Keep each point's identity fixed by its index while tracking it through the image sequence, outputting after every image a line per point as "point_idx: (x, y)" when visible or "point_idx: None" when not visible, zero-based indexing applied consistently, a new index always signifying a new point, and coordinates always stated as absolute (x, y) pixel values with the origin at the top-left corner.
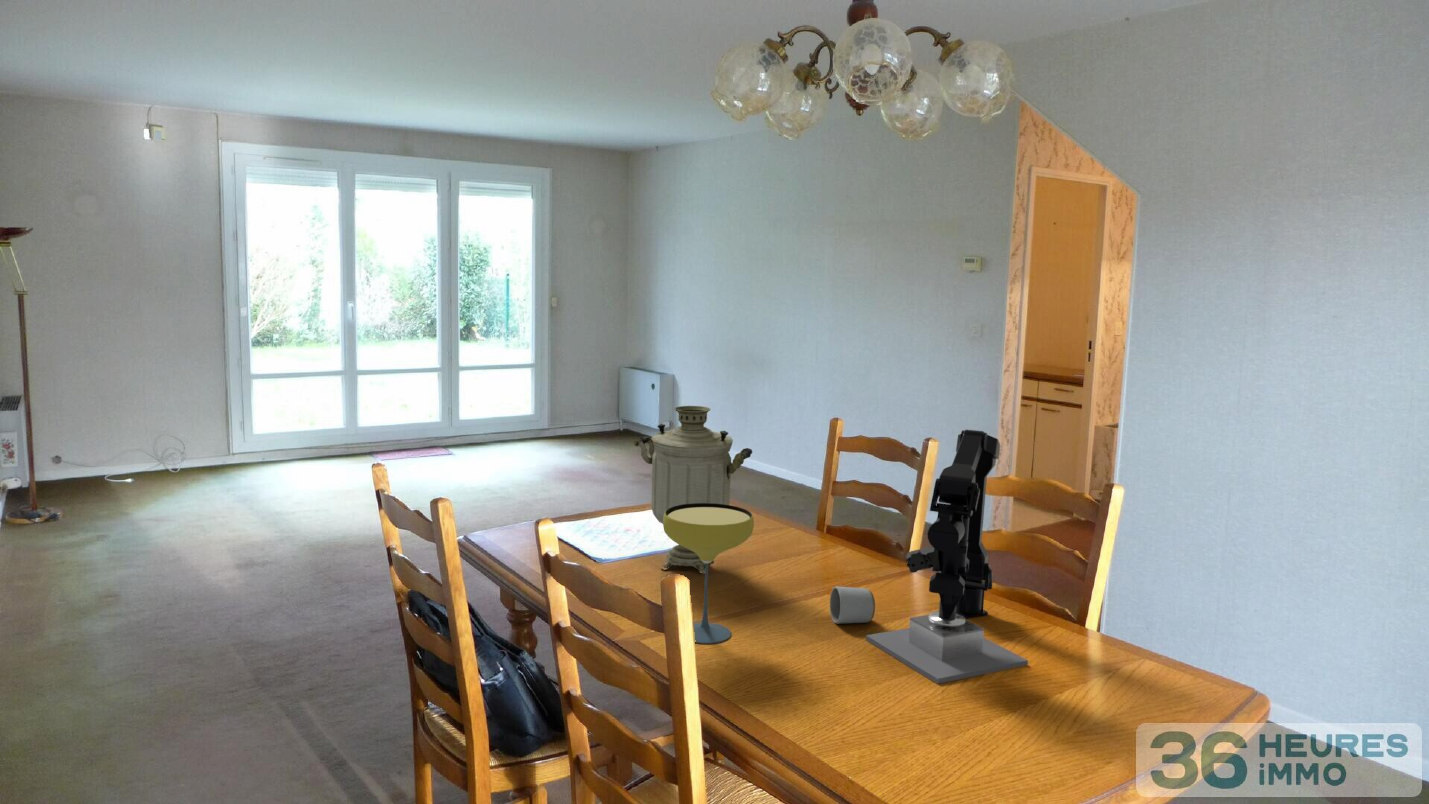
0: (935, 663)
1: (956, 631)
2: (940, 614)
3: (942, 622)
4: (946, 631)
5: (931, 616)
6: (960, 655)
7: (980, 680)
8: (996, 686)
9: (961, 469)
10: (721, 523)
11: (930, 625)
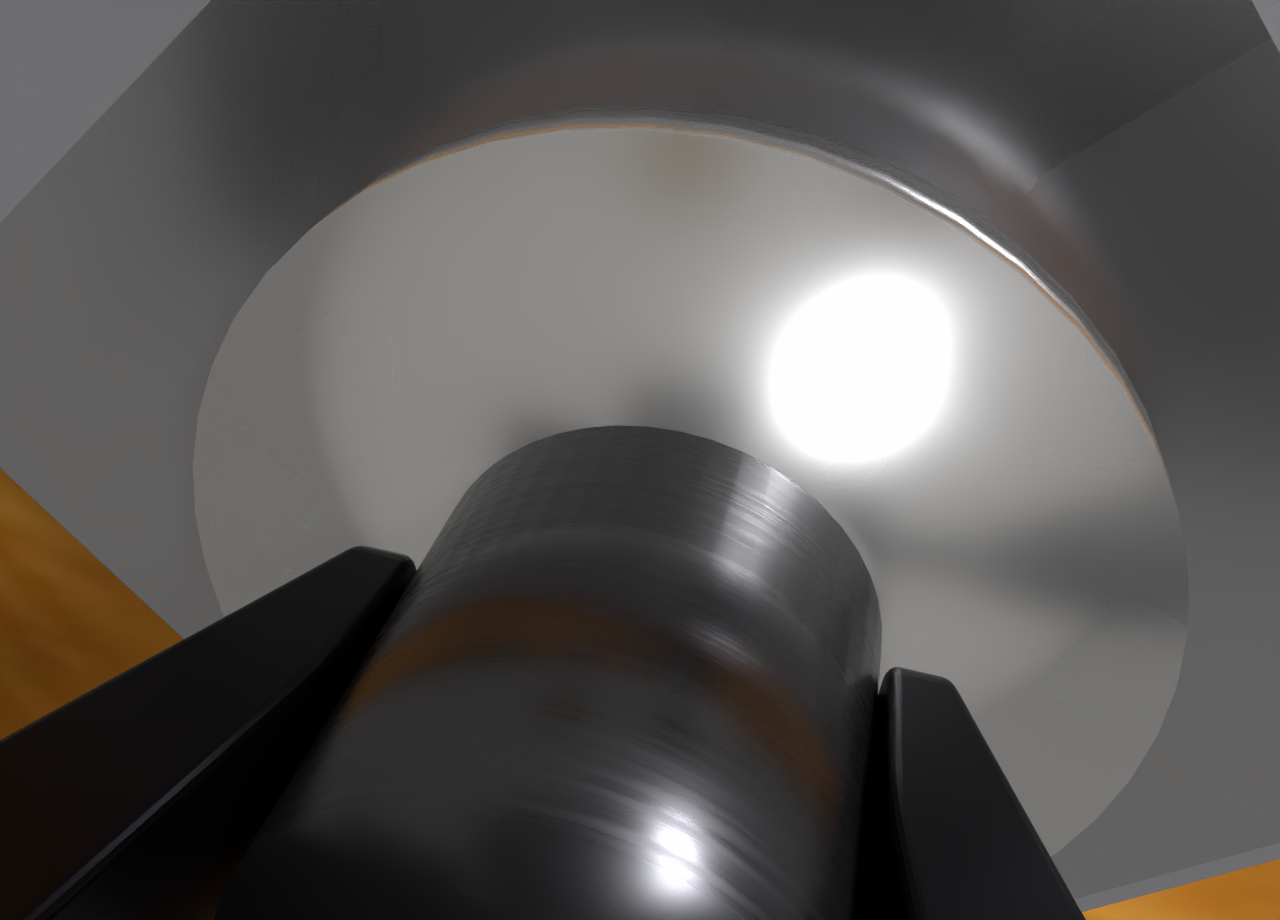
0: (47, 55)
1: None
2: (470, 521)
3: (248, 462)
4: (151, 447)
5: (606, 220)
6: None
7: (63, 529)
8: (12, 636)
9: None
10: None
11: (352, 116)
